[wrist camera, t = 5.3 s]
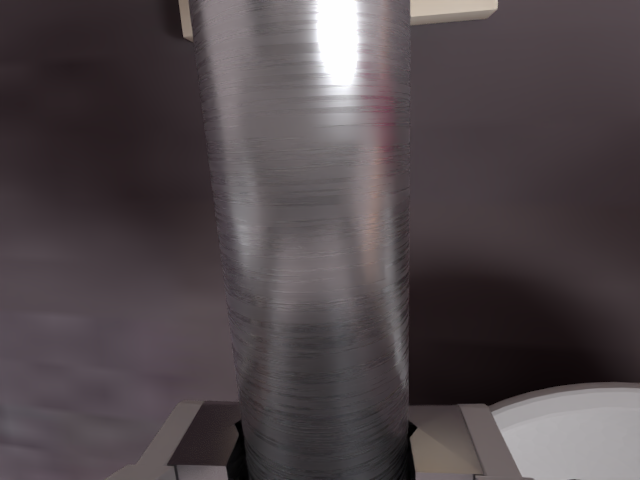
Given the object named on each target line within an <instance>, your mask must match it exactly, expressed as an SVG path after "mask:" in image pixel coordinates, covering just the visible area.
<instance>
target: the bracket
mask: <svg viewBox="0 0 640 480" xmlns="http://www.w3.org/2000/svg"><path fill="white" fill-rule="evenodd" d="M497 6H498V0H410V25H421V24H433V23H444V22H456V21H467V20H479V19H487V18H488V17H489V16H490V15H492V14H493V13H494V12H495V11H496V10H497ZM179 8H180V15H181V23H182V30H183V37H184V38H186V39H188V40H189V41H191V42H193V43H194V41H193V33H192V26H191V18H190V10H189V2H188V0H179Z"/></svg>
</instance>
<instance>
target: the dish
mask: <svg viewBox="0 0 640 480" xmlns="http://www.w3.org/2000/svg"><path fill="white" fill-rule="evenodd" d="M488 407H489V409H490V411H491V413H492V415H493V417H494V419H495V421H496V423H497V426H498V428H499V430H500V432H501V434H502V436H503V438H504V440H505V442H506V444H507V446H508V448H509V450H510V453H511V455H512V457H513V459H514V461H515V463H516V465H517V467H518V469H519V471H520V473H521V475H522V477H530V478H533V479H535V480H570V479H576V480H640V383H628V382H598V383H580V384H572V385H564V386H556V387H551V388H546V389H541V390H537V391H532V392H528V393H524V394H521V395H518V396H515V397H511V398H508V399H505V400H502V401H500V402H497V403H495V404H493V405H490V406H488Z"/></svg>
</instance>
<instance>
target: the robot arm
mask: <svg viewBox="0 0 640 480" xmlns="http://www.w3.org/2000/svg"><path fill="white" fill-rule="evenodd" d="M105 480H249V475H248V467H247V459H246V452H245V444H244V436H243V428H242V420H241V412H240V404H239V402H228V401H188V400H184V401H182V402H180V403H178V404H177V405H176V407H175V408H174V410H173V411H172V412H171V414H170V415H169V417H168V418H167V420H166V421H165V423H164V424H163V426H162V427H161V428H160V430H159V431H158V433H157V434H156V436H155V437H154V439H153V440H152V442H151V443H150V445H149V446H148V447H147V449H146V450H145V452H144V453H143V455H142V456H141V458H140V459H139V461H138V462H137V463H136V465H126V466H125V467H123V468H122V469H120V470H119V471H117V472H115V473H114V474H112V475H111V476H109V477H108V478H106V479H105ZM408 480H535V479H533V478H530V477H522V475H521V473H520V471H519V469H518V467H517V465H516V463H515V461H514V459H513V457H512V455H511V453H510V450H509V448H508V446H507V444H506V442H505V440H504V438H503V436H502V434H501V432H500V430H499V428H498V426H497V423H496V421H495V419H494V417H493V415H492V413H491V411H490V409H489V407H488V406H487V405H485V404H457V405H409V430H408Z"/></svg>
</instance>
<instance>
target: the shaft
mask: <svg viewBox="0 0 640 480" xmlns="http://www.w3.org/2000/svg"><path fill="white" fill-rule="evenodd" d="M188 2H189V10H190V18H191V26H192V33H193V41H194V49H195V57H196V65H197V73H198V81H199V89H200V97H201V104H202V112H203V120H204V128H205V136H206V144H207V152H208V160H209V168H210V175H211V183H212V191H213V199H214V207H215V215H216V223H217V231H218V239H219V246H220V254H221V262H222V270H223V278H224V286H225V294H226V302H227V310H228V317H229V325H230V333H231V341H232V349H233V357H234V365H235V373H236V381H237V388H238V396H239V404H240V412H241V420H242V428H243V436H244V444H245V452H246V459H247V467H248V475H249V480H408V430H409V211H410V0H188Z"/></svg>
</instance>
